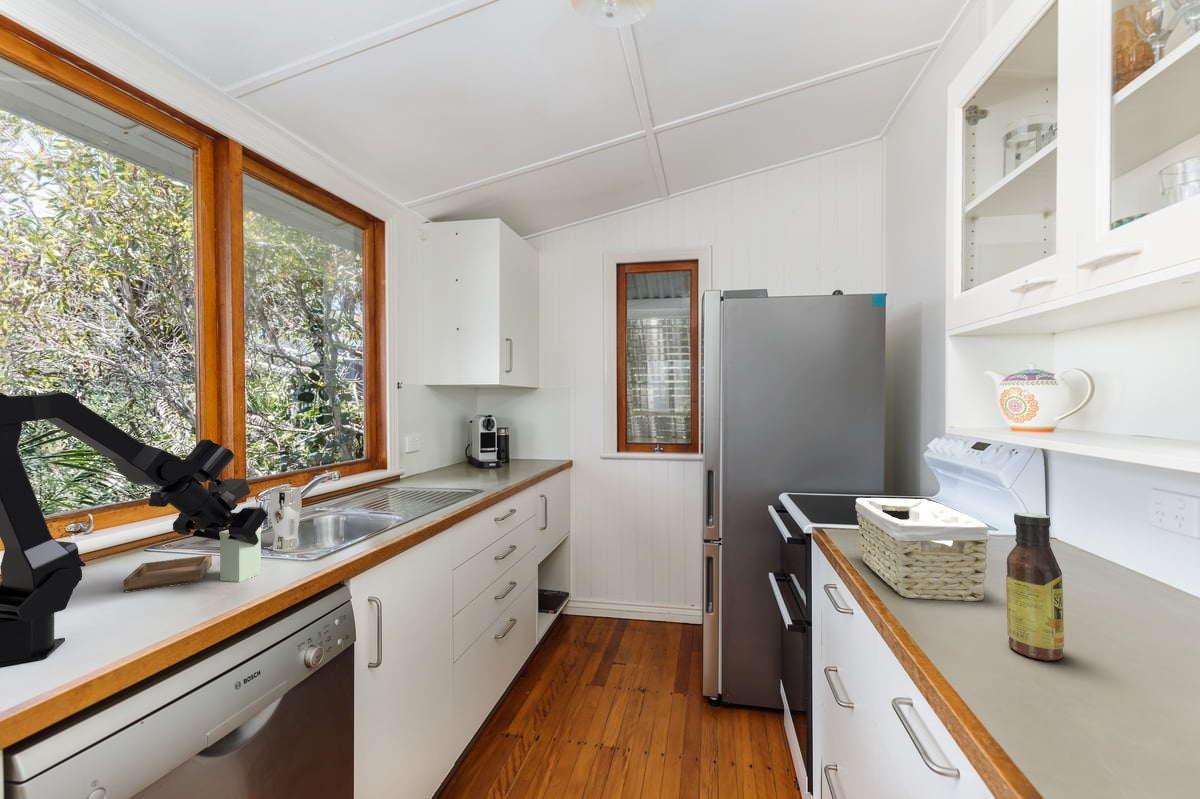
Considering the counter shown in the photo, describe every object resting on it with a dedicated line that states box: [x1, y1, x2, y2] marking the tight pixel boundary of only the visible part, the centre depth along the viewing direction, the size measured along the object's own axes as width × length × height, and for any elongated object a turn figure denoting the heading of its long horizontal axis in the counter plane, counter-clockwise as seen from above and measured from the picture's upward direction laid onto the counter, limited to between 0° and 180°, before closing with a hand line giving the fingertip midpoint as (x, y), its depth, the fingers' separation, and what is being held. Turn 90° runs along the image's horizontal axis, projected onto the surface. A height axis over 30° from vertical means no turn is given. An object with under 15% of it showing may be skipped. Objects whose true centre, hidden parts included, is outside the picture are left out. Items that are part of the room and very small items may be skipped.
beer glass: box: [269, 486, 303, 552], centre depth 129 cm, size 7×7×15 cm
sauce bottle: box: [1005, 511, 1065, 661], centre depth 73 cm, size 6×6×20 cm
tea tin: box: [219, 526, 263, 583], centre depth 107 cm, size 5×5×10 cm
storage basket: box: [855, 497, 991, 602], centre depth 103 cm, size 24×16×15 cm
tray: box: [122, 554, 213, 593], centre depth 107 cm, size 12×12×2 cm
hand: (246, 541), depth 109 cm, fingers closed on tea tin, 5 cm apart
